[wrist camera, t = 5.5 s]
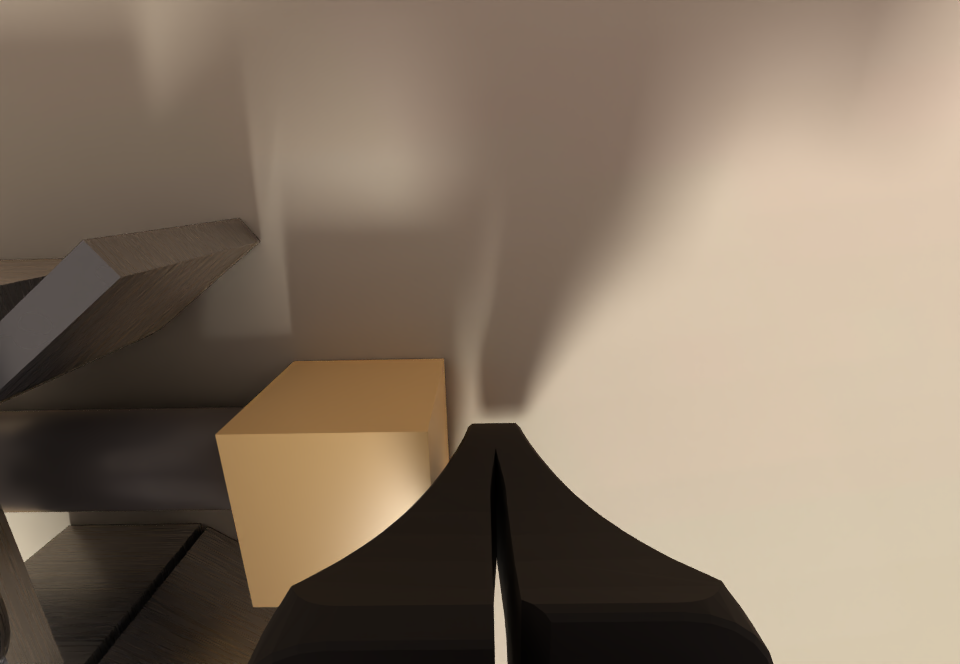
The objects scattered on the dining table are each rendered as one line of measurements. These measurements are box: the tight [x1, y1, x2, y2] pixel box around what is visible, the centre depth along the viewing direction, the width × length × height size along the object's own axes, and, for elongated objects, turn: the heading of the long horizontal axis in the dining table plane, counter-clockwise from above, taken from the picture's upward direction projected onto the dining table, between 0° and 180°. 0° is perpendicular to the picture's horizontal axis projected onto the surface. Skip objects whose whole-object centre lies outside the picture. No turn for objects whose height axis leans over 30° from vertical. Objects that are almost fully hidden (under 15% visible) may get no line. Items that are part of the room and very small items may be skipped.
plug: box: [0, 359, 449, 607], centre depth 11 cm, size 16×4×4 cm, turn 91°
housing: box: [0, 218, 278, 664], centre depth 10 cm, size 8×12×6 cm, turn 1°
